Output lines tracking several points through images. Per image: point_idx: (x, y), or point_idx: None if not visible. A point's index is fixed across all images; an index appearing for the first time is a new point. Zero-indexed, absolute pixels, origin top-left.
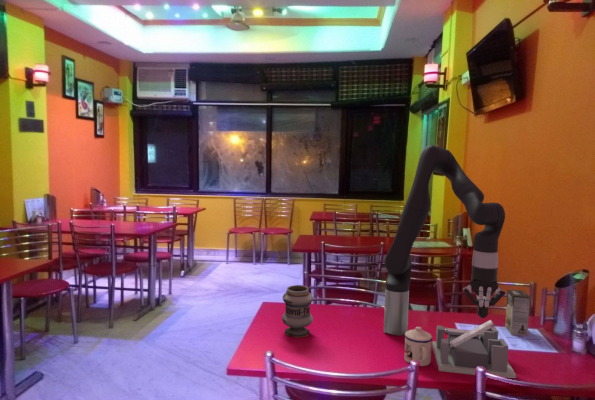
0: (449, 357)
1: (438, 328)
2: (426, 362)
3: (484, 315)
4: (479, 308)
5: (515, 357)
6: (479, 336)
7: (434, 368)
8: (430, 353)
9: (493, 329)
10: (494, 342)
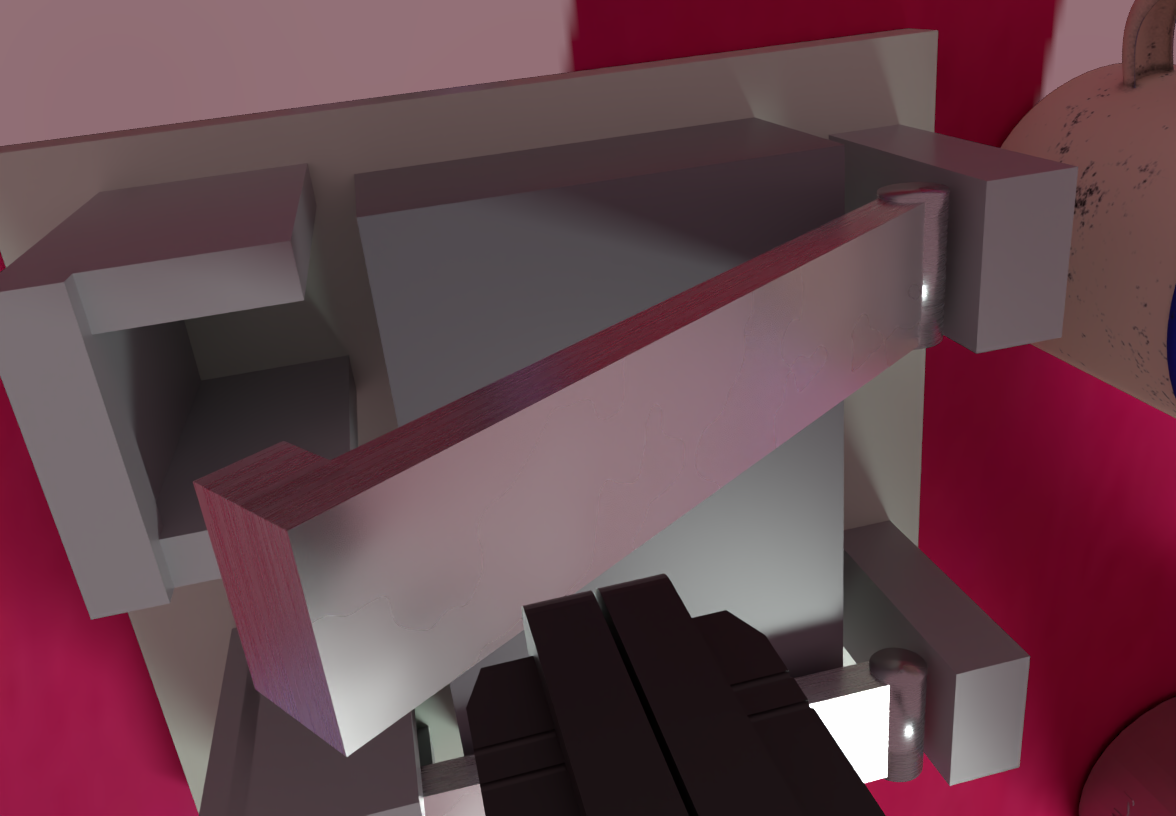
0: None
1: (1017, 684)
2: (1052, 111)
3: (573, 639)
4: (832, 804)
5: (22, 753)
6: (466, 763)
7: (946, 80)
8: None
9: (270, 453)
10: None
